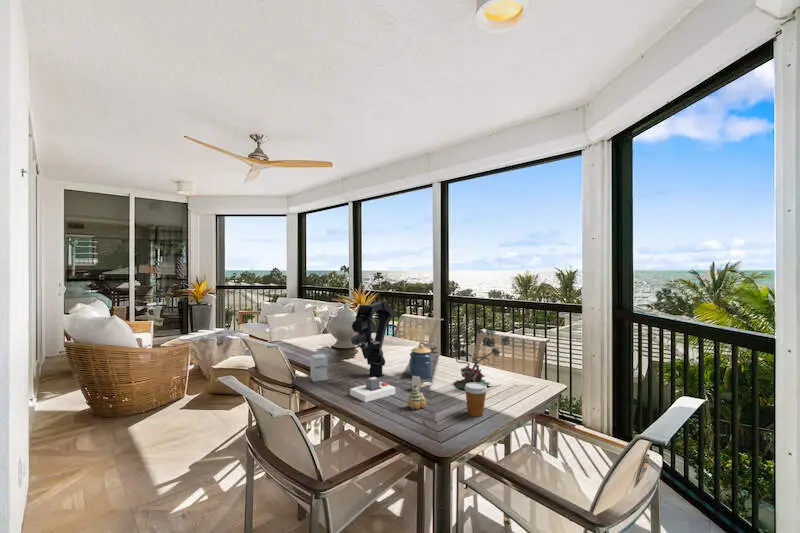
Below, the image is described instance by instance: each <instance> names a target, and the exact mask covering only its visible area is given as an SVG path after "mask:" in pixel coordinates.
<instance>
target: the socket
mask: <svg viewBox="0 0 800 533" xmlns="http://www.w3.org/2000/svg"><path fill="white" fill-rule="evenodd" d="M349 390H350V391H349V395H350V396H351V397H353V398H356V399H358V400H360V401H362V402H364V403H367V402H371V401H374V400H378V399H381V398H385V397H388V396H389V397H390V396H392V395H396V387H395V386H393V385H390V384H389V383H386V382H382V381H380V389H378V390H374V391H369V390H367V389H366V384H363V385H359V386H355V387H352V388H349Z"/></svg>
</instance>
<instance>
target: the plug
mask: <svg viewBox="0 0 800 533" xmlns="http://www.w3.org/2000/svg"><path fill="white" fill-rule="evenodd" d="M380 380H381V379H380V378H379V377H372V376H371V377H368V378H366V380H365V385H366V389H367V390H369V391H374V390H378V389H380V382H381V381H380Z"/></svg>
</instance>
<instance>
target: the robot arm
mask: <svg viewBox="0 0 800 533" xmlns="http://www.w3.org/2000/svg"><path fill="white" fill-rule="evenodd" d="M375 313H376V314H377V319H378V324H377V325H378V326H377V329H376V333H375V338H373V337H372V334H373V333H374V331H373V330H372V329H373V328H372V326H373V325H372V322H373V320H374V318H373V316H374V315H375ZM393 316H394V311H393V308H392V307H391V306H389V305H388V304H387V302H385V301H378V300H377V301H376V302H374V303H371V304H360V305H359V307H358V309H357V312H356V315H355V320H354V321H353V323H351V328H352V330H353V331H354V332H355V333H358V334H356V335H354V336H352V337H350V341H351V345H355V346H358V347H359V348H360V349H361V351H362V355H363V359H364V360H366V361H367V365H368V366H369V365H370V366H369V374H368V376H369V377H371V378H372V377H376V378H379V377H384V376H385V374H383V366H384V367H385V365H386V359H385V357H384V352H383V349H382V348H383V345H384V344H383V343H384V339H385V335H386V331H387V327H388V324H389V323H390V322H391V321H392V319H393Z"/></svg>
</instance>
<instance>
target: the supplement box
mask: <svg viewBox="0 0 800 533" xmlns="http://www.w3.org/2000/svg"><path fill="white" fill-rule="evenodd" d="M328 359H329V358H328V356H327V355H326V354H323V353H322V354H310V379H311V380H312V381H313V382H321V381H327V380H328Z"/></svg>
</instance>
